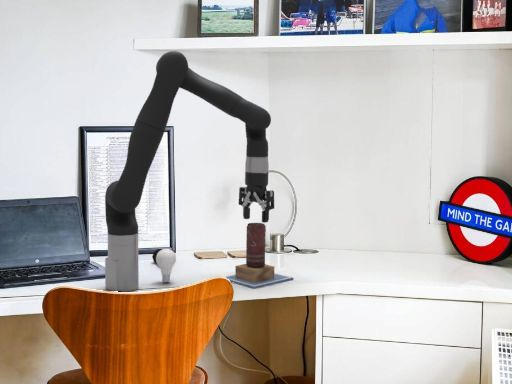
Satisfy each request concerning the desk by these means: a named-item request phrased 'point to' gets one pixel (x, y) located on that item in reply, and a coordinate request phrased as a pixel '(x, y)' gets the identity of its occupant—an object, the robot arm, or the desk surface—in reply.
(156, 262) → the microphone
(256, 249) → the maroon rounded block
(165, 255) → the lightbulb
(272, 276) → the plinth
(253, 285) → the board
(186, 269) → the desk surface
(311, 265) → the desk surface
